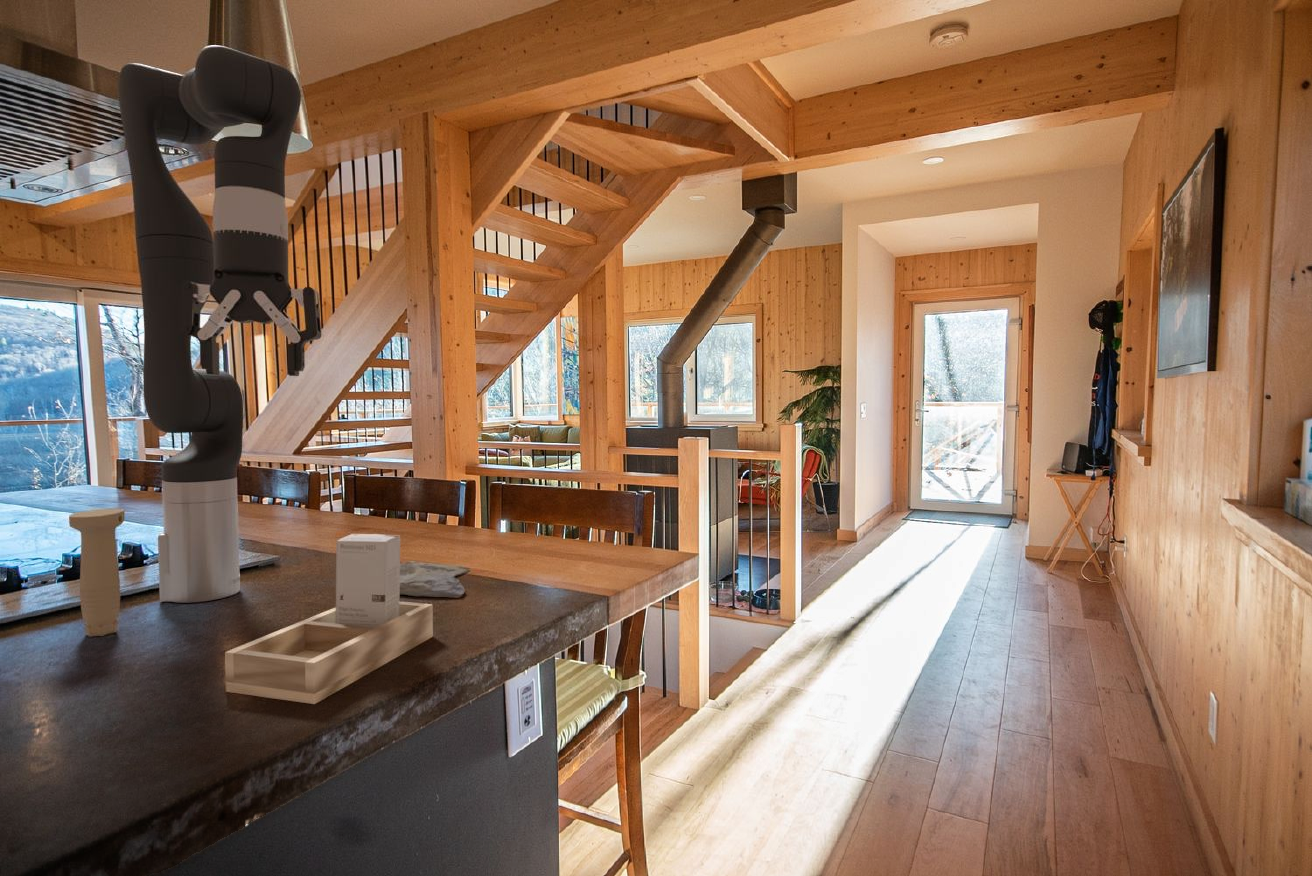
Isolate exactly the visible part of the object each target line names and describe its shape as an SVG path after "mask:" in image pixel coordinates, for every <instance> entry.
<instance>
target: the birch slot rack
mask: <svg viewBox="0 0 1312 876" xmlns="http://www.w3.org/2000/svg"><path fill="white" fill-rule="evenodd" d="M433 608H434V607H433V604H432V603H430V604H429V603H420V602H411V601H409V602H408V601H400V600H399V617H397V618H395V619H393V620H391V621H389V622H387V623H385V624H383V625H381V626H378V627H376V628H373V627H363V626H354V625H344V624H336V606H335V607H333V608H331V609H328V610H326V611H323V612H321V613H317V614H316V615H313V616H310V617H309V618H306V619H304V620H301V621H298V622H296V623H293V624H291V625H289V626H285V627H284V628H281V629H279V630H276V631H273V632H271V633H269V634H267V635H264V636H262V637H259V638H256V639H254V640H251V641H248V642H246V643H244V644H241V645H239V646H236V647H234V648H232V649H229V650H227V651H225V652H224V665H225V667H224V668H225V692H226V693H234V694H241V695H246V696H252V697H253V696H256V697H262V698H266V699H267V698H268V699H275V700H276V699H277V700H283V701H290V702H296V703H297V702H298V703H303V704H304V703H305V704H311V705H316V704H317V703H320V702H321V701H323V700H325V699H326V698H329V697H330V696H331V695H333V694H336V693H337V692H338V691H340V690H342V689H344V688H346V687H348V686H349V685H350V684H352V683H355V682H356V681H358V680H360V679H361V678H363V677H365V676H367V675H369V674H370V673H371V672H373V671H375V670H378V669H379V668H380V667H382V666H384V665H386V664H387V663H389V662H391V661H393V660H394V659H397V658H398V657H400V656H401V655H404V654H405V653H406V652H409V651H410V650H412V649H414V648H415V647H417V646H419V645H420V644H422V643H424V642H426V641H428V640H429V639H431V638H433V637H434V624H433V622H434V620H433V619H434V615H433V614H434V613H433Z"/></svg>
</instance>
